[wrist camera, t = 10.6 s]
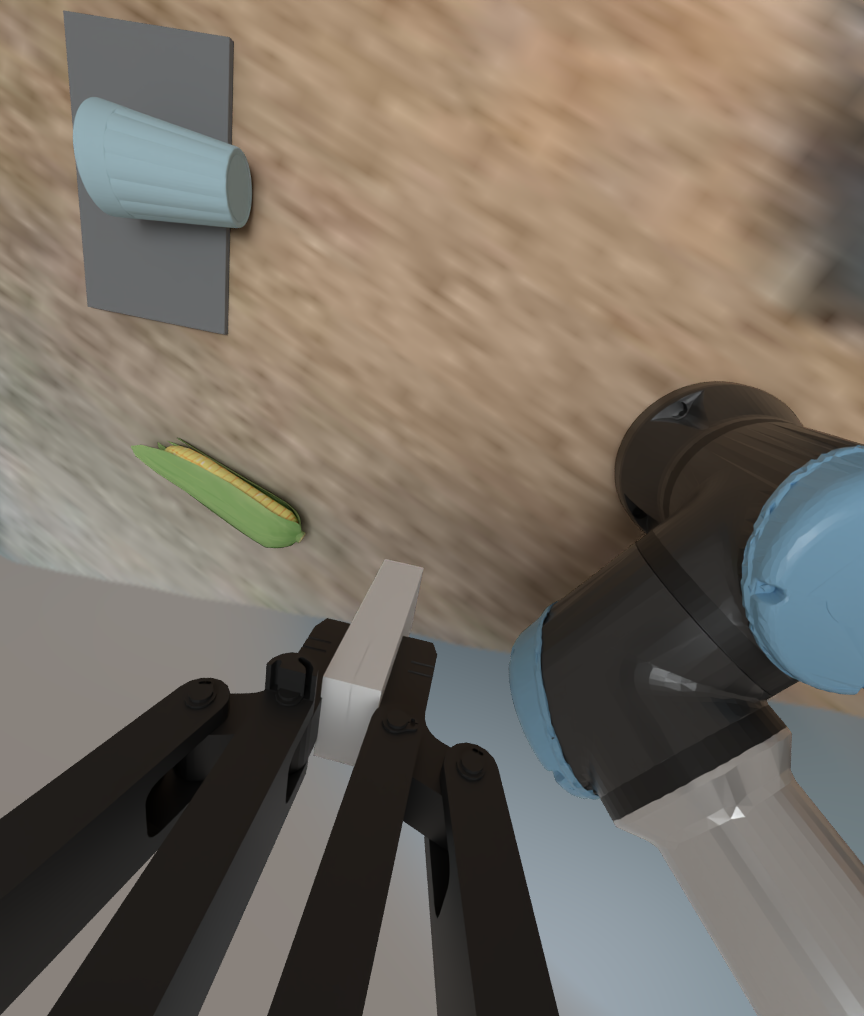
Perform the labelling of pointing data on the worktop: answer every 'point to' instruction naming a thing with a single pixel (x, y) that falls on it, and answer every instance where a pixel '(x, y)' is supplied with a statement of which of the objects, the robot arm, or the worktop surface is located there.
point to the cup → (158, 168)
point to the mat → (180, 101)
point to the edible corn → (226, 494)
